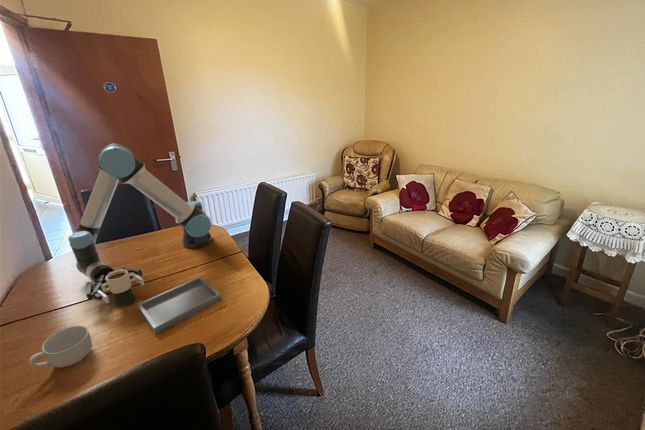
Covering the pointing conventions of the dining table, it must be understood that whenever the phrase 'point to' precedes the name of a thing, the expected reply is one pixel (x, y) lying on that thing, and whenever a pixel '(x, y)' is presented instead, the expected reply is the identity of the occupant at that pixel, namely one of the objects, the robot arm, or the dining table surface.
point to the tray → (178, 304)
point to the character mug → (120, 286)
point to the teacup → (64, 347)
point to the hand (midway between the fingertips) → (125, 290)
